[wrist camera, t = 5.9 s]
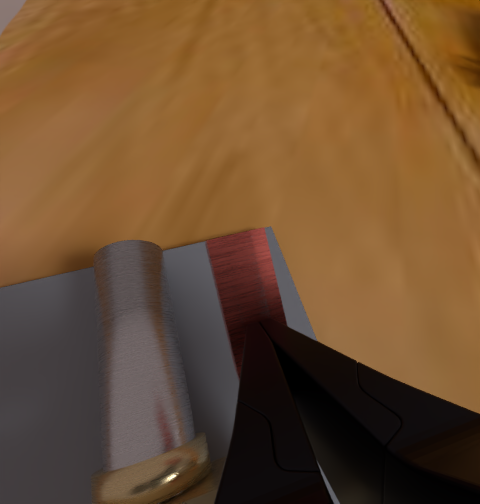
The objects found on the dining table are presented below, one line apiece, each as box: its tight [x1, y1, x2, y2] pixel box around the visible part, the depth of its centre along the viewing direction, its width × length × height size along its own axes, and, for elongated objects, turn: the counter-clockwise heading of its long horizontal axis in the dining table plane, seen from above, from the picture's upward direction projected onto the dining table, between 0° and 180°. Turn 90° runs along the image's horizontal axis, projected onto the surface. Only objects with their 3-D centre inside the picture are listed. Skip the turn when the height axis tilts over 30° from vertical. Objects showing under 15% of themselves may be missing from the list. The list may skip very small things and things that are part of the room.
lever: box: [205, 228, 287, 381], centre depth 10 cm, size 2×3×12 cm
